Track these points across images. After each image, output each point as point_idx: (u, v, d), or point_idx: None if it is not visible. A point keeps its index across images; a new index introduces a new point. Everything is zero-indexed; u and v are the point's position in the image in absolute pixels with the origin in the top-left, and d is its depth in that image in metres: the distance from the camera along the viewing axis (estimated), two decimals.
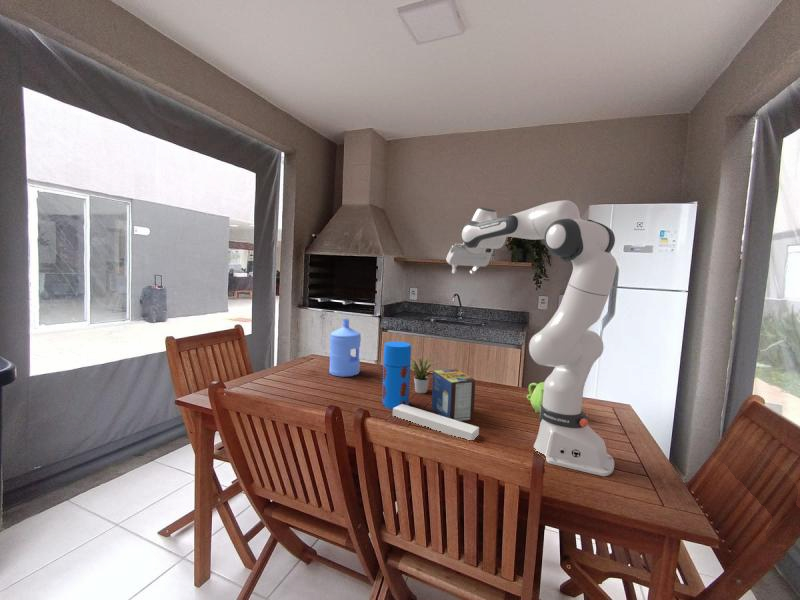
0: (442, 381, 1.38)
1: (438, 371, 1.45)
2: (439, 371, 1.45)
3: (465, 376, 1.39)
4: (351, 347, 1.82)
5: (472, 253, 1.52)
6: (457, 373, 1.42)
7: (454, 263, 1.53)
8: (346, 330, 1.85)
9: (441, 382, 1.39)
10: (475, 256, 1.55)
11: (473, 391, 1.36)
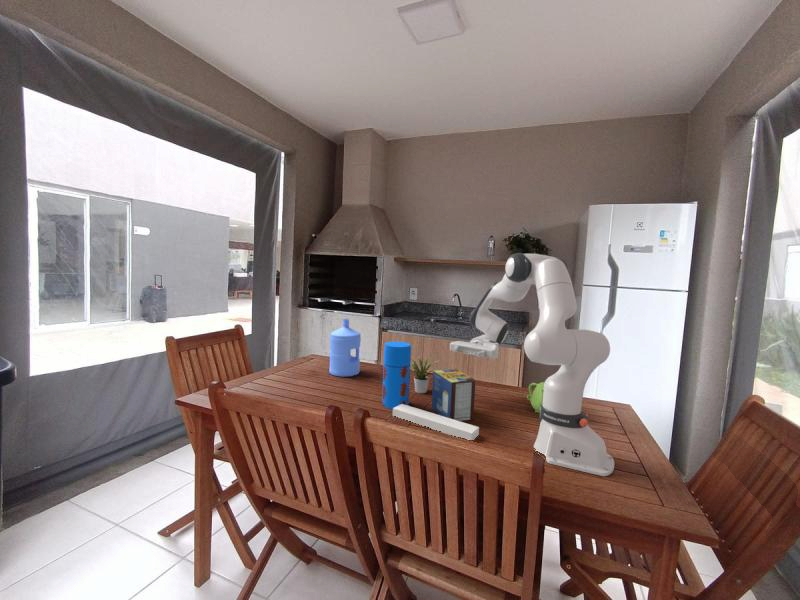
0: (442, 381, 1.38)
1: (438, 371, 1.45)
2: (439, 371, 1.45)
3: (465, 376, 1.39)
4: (351, 347, 1.82)
5: (474, 341, 1.58)
6: (457, 373, 1.42)
7: (455, 343, 1.57)
8: (346, 330, 1.85)
9: (441, 382, 1.39)
10: (479, 346, 1.55)
11: (473, 391, 1.36)
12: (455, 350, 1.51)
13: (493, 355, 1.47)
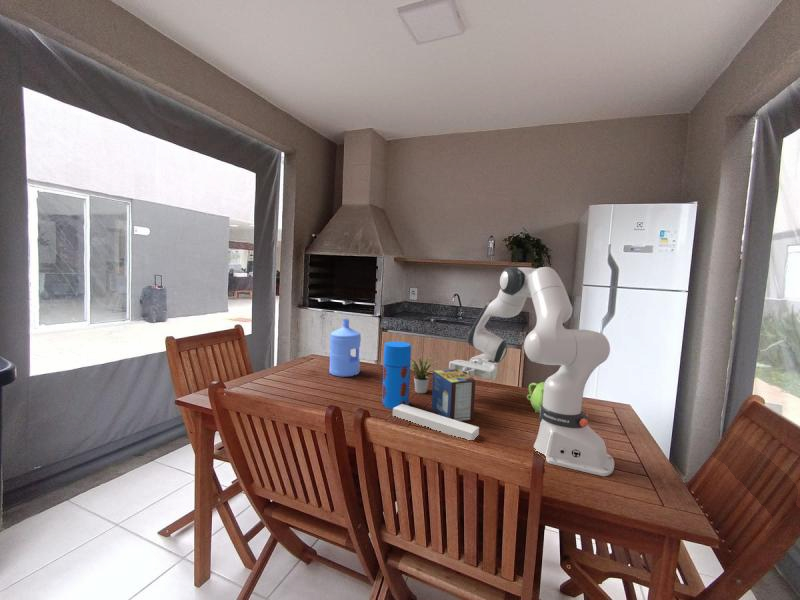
0: (442, 381, 1.38)
1: (438, 371, 1.45)
2: (439, 371, 1.45)
3: (465, 376, 1.39)
4: (351, 347, 1.82)
5: (473, 360, 1.59)
6: (457, 373, 1.42)
7: (454, 362, 1.58)
8: (346, 330, 1.85)
9: (441, 382, 1.39)
10: (478, 365, 1.56)
11: (473, 391, 1.36)
12: (463, 372, 1.50)
13: (492, 376, 1.48)
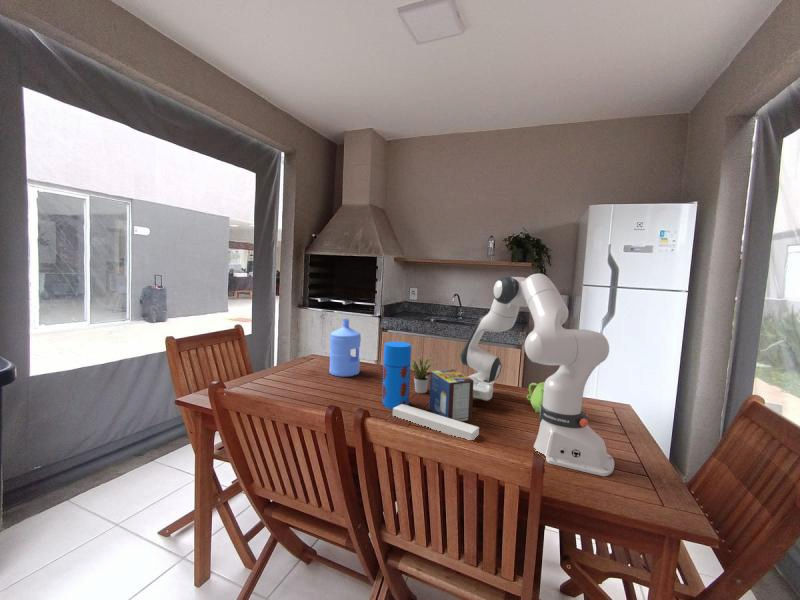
0: (440, 381, 1.37)
1: (436, 371, 1.44)
2: (437, 371, 1.44)
3: (463, 376, 1.38)
4: (351, 347, 1.82)
5: None
6: (455, 374, 1.41)
7: None
8: (346, 330, 1.85)
9: (439, 383, 1.38)
10: (473, 385, 1.52)
11: (471, 391, 1.35)
12: None
13: (487, 397, 1.45)
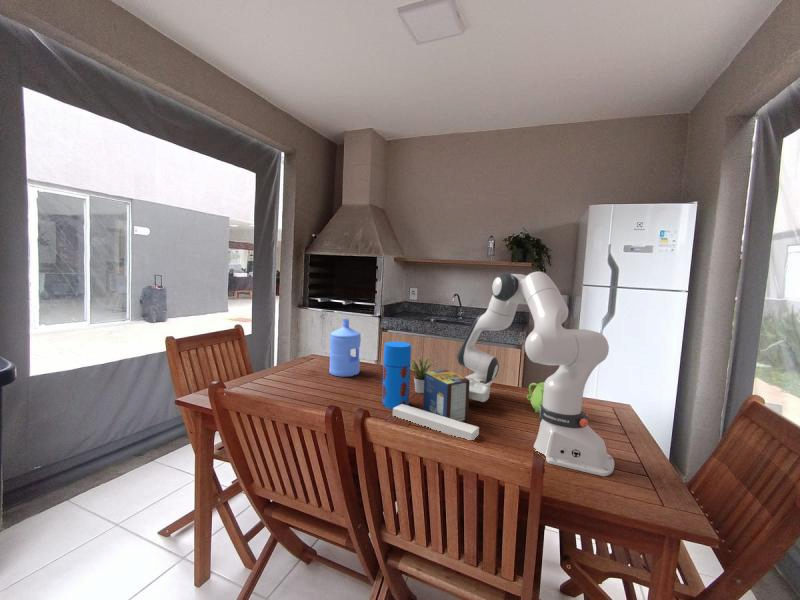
0: (436, 382, 1.36)
1: (430, 372, 1.42)
2: (431, 372, 1.42)
3: (458, 376, 1.38)
4: (351, 347, 1.82)
5: None
6: (450, 374, 1.40)
7: None
8: (346, 330, 1.85)
9: (435, 384, 1.36)
10: (470, 386, 1.50)
11: (467, 391, 1.35)
12: None
13: (483, 398, 1.42)
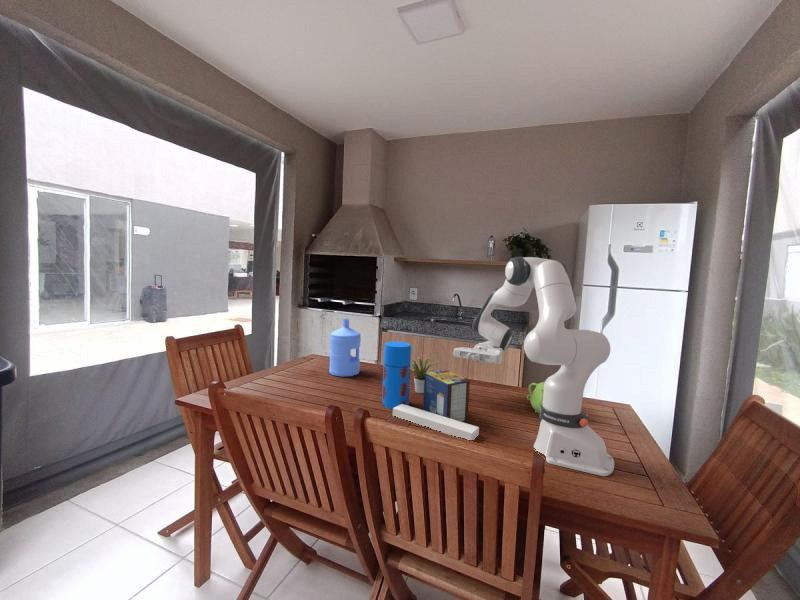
0: (436, 382, 1.36)
1: (430, 373, 1.42)
2: (431, 373, 1.42)
3: (458, 377, 1.38)
4: (351, 347, 1.82)
5: (478, 346, 1.58)
6: (450, 374, 1.41)
7: (459, 348, 1.57)
8: (346, 330, 1.85)
9: (435, 384, 1.36)
10: (483, 351, 1.54)
11: (467, 392, 1.35)
12: (468, 357, 1.48)
13: (497, 360, 1.47)
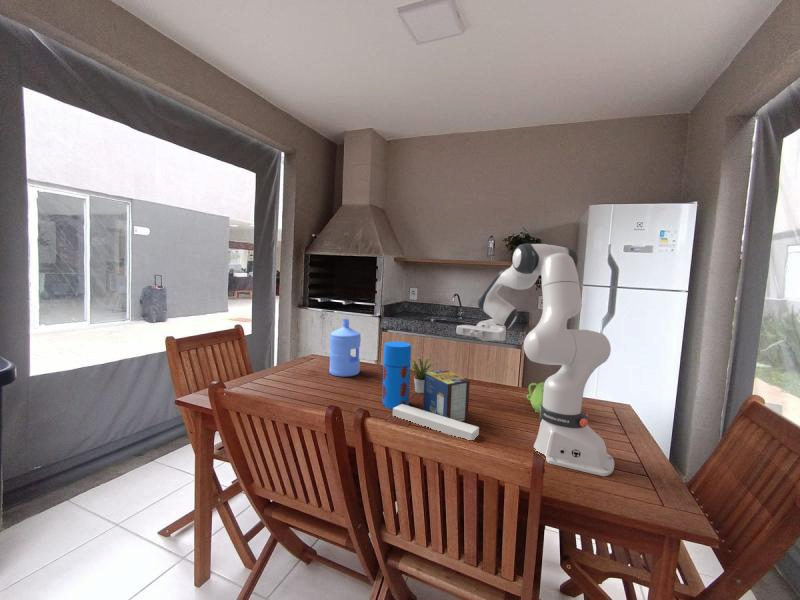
0: (436, 382, 1.36)
1: (430, 373, 1.42)
2: (431, 373, 1.42)
3: (458, 377, 1.38)
4: (351, 347, 1.82)
5: (481, 324, 1.57)
6: (450, 374, 1.41)
7: (462, 326, 1.56)
8: (346, 330, 1.85)
9: (435, 384, 1.36)
10: (486, 328, 1.54)
11: (467, 392, 1.35)
12: (471, 334, 1.48)
13: (500, 337, 1.46)
